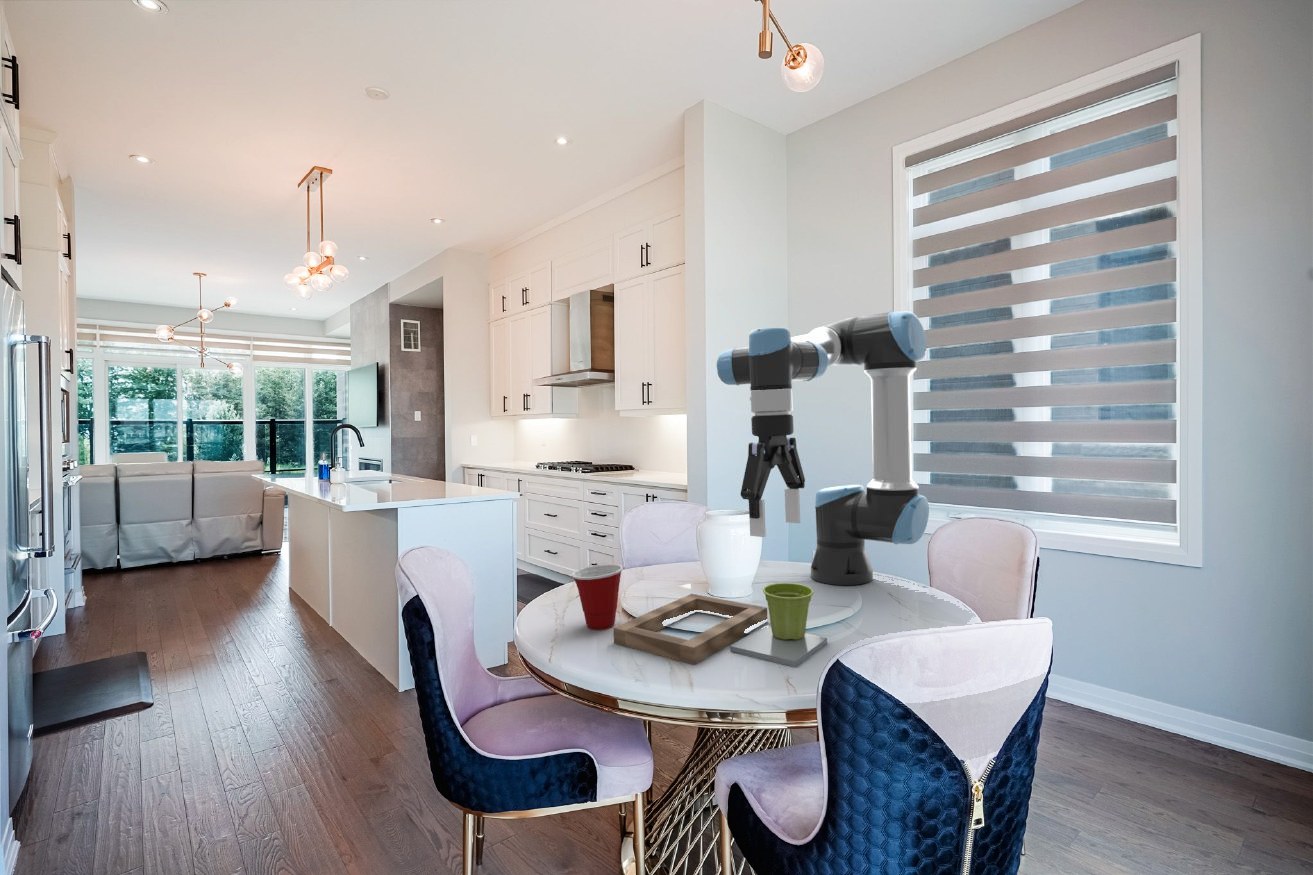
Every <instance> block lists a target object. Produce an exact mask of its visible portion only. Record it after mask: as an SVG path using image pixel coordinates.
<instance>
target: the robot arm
mask: <svg viewBox="0 0 1313 875" xmlns="http://www.w3.org/2000/svg"><path fill="white" fill-rule="evenodd" d="M926 351H927V338H926V333H925V329H924V327H923V324H922V323H921V321H920V318H919V317H918V316H917V315H916V313H913V312H912V311H910V310H905V311H890V312H888V311H887V312H882V313H876V314H869V315H864V316H863V315H862V316H854V317H849V318H845V319H843V320H842V319H841V320H839V321H836V322H833V323H829V324H827V325H823V326H820V327H816V328H813V329H812V330H811V331H810V332H809V333H807V334H801V335H797V336H792V337H791V331H790V330H789V329H788V328H787V327H783V326H773V327H762V328H761V327H760V328H754V329H753V330H751V331H750V332H749V334H748V346H745V347H739V348H737V347H734V348H731V349H726V350H723V351H722V352H721V353H720V354H719V356H718V357H717V360H716V371H717V376H718V378H719V380H720V381H721V382H722V383H723V384H725V385H729V386H730V385H731V386H732V385H734V386H735V385H736V386H740V385H750V388H749V389H750V397H749V401H750V409H751V412H752V413H753V414H754V415H753V416H751V421H750V422H751V434H752V436H754V437H758V442H749V443H748V450H747V452H748V454H747V459H746V460H747V461H746V464H745V465H746V466H745V469H744V474H743V478H742V479H743V480H742V484H741V489H740V497H741V498H742V499H743V500H748V507H749V508H748V518H749V536H750V537H756V538H757V537H758V538H759V537H760V538H765V537H766V536H767V534H766V533H767V531H766V508H765V505H766V504H765V499H762V498H763V494H764V491H765V489H766V487H767V482H768V480H769V477H770V473H771V471H772V470H773V469H774V468H775V466H777V468H778V470H779V472H780V475H781V478H783V482H784V483H785V485H786V487H787V488H784V507H785V509H784V510H785V512H784V513H785V523H791V524H800V523H801V504H800V503H801V500H800V489H805V488H806V487H805V485H806V484H805V482H806V478H805V474H804V471H803V467H802V463H801V459H800V457H799V452H798V449H797V440H796V437H787V436H790V435H793V434H794V433H795V432H794V431H795V430H794V416H793V414H792V413H791V411H792V412H793V410H794V402H793V401H794V400H793V383H792V382H798V381H801V382H806V381H807V382H810V381H815V380H817V379H819V378H821V377H822V376H823V375H824V374H825V372H826V371H827V369H828V367H830V366H863V372H864V374H866V375H867V376H868V378H870V392H871V393H870V394H871V400H870V401H871V439H872V440H871V442H872V444H871V446H872V447H871V448H872V479H871V480H870V481H869V482H868V484H867V485H866V491H865V488H864V486H863V485H861V484H849V485H839V486H832V487H825V488H822V489H819V490H818V491H817V492H816V494H815V505H814V509H815V527H816V528H815V531H816V550H815V552H814V556H813V559H812V562H811V566H810V578H811V579H812V580H814V581H816V582H819V583H822V584H823V583H824V584H827V585H828V584H829V585H837V586H854V585H862V584H867V583H869V582H871V581H873V579H874V576H873V575H874V572H873V567H872V564H871V561H870V559H869V556H868V553H867V551H866V546H865V543H866V542H865V540H866V541H875V542H884V543H891V544H893V545H914V544H916V543H917V542H919V541H920V539H921V538H922V537H923V536H924V533H925V531H926V530H927V527H928V522H929V516H930V515H929V514H930V504H929V500H928V499H927V497H926V496H924V495H922V494H920V491H919V490H920V489H919V484H917V483H916V482H915V481H914V480H913V478H912V438H911V437H912V436H911V429H912V428H911V383H910V382H911V378H910V377H911V376H912V375H913V374H914V372H916V370H917V369H918V368H917V362H920V361H922V360H923V359H924V357H925V356H926Z"/></svg>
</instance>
